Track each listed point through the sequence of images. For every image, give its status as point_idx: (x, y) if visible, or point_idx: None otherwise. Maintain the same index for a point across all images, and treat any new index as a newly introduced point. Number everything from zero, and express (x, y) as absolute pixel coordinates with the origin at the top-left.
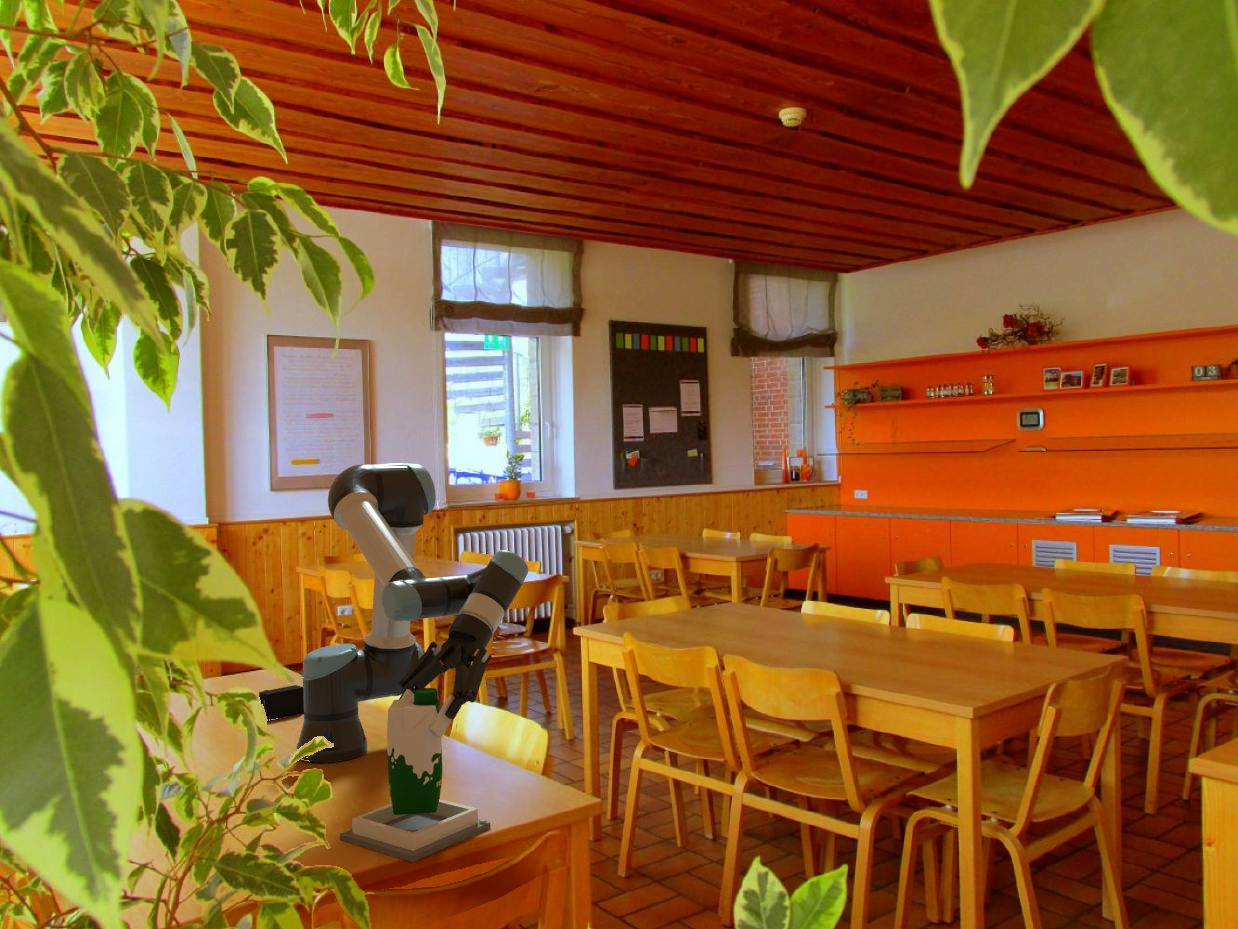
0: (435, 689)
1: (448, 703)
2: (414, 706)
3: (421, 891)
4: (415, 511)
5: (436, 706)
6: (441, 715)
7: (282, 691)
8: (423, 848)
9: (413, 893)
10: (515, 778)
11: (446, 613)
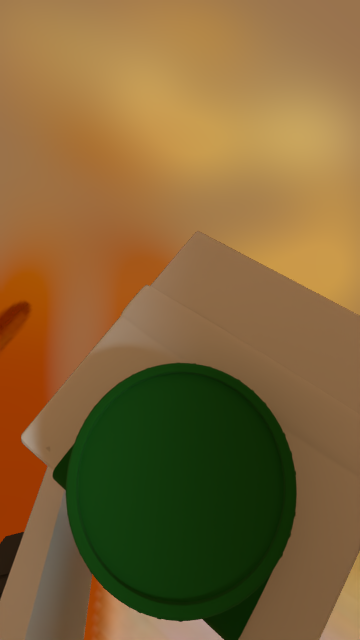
0: (157, 598)
1: (7, 591)
2: (139, 351)
3: (6, 334)
4: None
5: (61, 486)
6: (39, 494)
7: None
8: None
9: (10, 323)
10: None
11: None
